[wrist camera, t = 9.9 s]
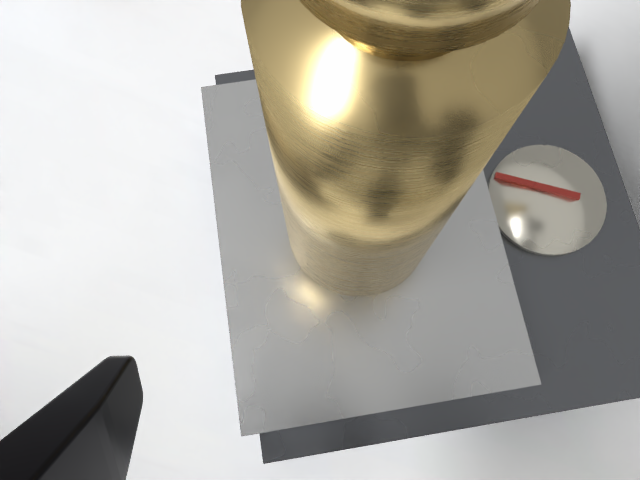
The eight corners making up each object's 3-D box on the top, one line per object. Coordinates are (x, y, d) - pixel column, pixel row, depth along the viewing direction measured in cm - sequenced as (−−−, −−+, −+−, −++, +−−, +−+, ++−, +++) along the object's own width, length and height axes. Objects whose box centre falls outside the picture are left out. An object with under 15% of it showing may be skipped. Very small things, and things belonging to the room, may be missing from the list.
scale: (651, 389, 21) (710, 387, 18) (257, 458, 20) (245, 469, 17) (544, 60, 25) (576, 11, 22) (214, 108, 24) (198, 65, 21)
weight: (456, 239, 19) (753, -129, 6) (346, 325, 18) (408, 119, 5) (367, 139, 20) (450, -354, 7) (260, 215, 19) (127, -184, 6)
